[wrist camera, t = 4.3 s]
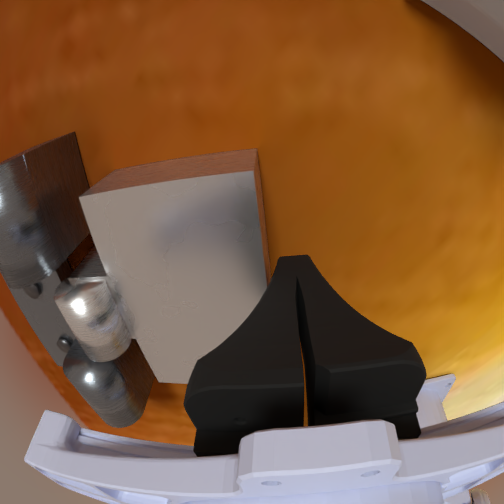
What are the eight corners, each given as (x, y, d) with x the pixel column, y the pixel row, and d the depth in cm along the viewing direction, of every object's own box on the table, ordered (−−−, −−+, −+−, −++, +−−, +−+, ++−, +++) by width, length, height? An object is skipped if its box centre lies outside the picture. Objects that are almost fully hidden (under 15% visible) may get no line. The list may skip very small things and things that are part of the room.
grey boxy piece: (277, 338, 16) (277, 411, 13) (125, 339, 17) (100, 400, 13) (257, 148, 11) (250, 189, 7) (62, 182, 12) (-1, 229, 8)
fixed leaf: (158, 362, 18) (138, 431, 14) (65, 354, 19) (37, 408, 15) (74, 131, 11) (-7, 170, 7) (-23, 172, 12) (-84, 212, 8)
